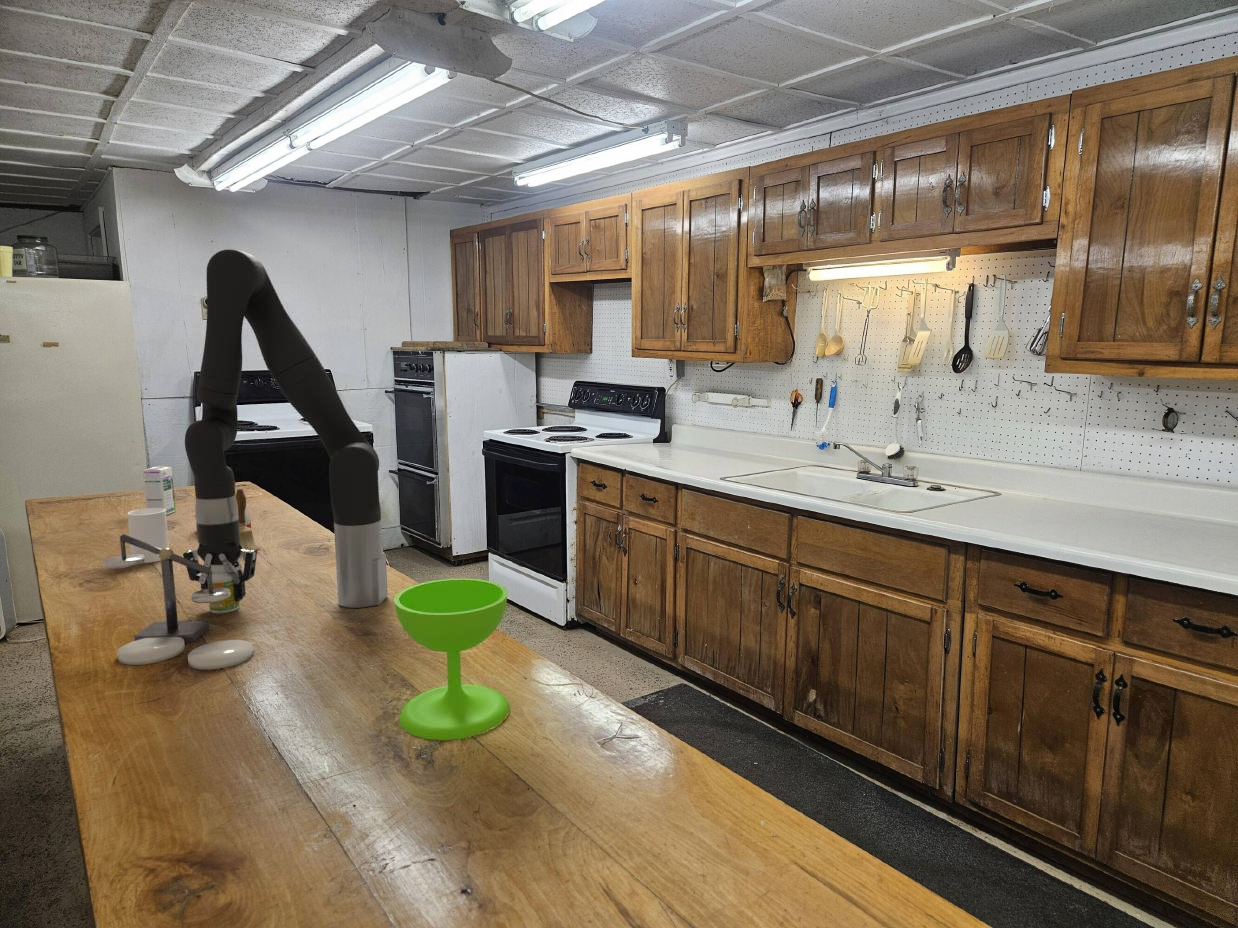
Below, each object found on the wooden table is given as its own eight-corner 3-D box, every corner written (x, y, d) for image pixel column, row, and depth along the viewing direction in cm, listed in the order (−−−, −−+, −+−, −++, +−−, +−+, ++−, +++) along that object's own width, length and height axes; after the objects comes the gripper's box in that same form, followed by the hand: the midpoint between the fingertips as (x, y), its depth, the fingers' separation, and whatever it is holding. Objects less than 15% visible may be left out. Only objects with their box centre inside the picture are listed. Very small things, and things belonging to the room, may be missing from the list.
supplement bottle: (227, 615, 154) (223, 567, 153) (203, 612, 156) (199, 565, 154) (245, 606, 160) (242, 560, 158) (222, 604, 161) (218, 558, 159)
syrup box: (165, 515, 239) (161, 469, 236) (146, 515, 239) (142, 469, 237) (176, 511, 244) (172, 466, 242) (157, 511, 244) (153, 466, 242)
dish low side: (263, 646, 139) (262, 639, 139) (237, 669, 129) (236, 662, 129) (207, 646, 139) (206, 639, 139) (176, 669, 129) (175, 662, 129)
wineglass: (417, 687, 123) (412, 577, 120) (518, 689, 123) (516, 579, 120) (383, 739, 107) (377, 614, 104) (499, 741, 107) (496, 615, 104)
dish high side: (195, 641, 141) (195, 635, 141) (164, 664, 131) (164, 658, 131) (140, 641, 141) (139, 635, 141) (104, 664, 131) (104, 658, 131)
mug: (125, 555, 196) (120, 508, 194) (163, 549, 202) (159, 503, 200) (134, 565, 187) (130, 516, 186) (174, 558, 193) (170, 511, 191)
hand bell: (262, 544, 207) (258, 485, 204) (258, 552, 199) (254, 491, 197) (228, 546, 204) (223, 487, 202) (222, 555, 197) (218, 493, 194)
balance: (239, 627, 148) (232, 527, 145) (224, 641, 141) (216, 537, 138) (123, 630, 146) (113, 529, 143) (103, 644, 139) (91, 539, 136)
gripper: (262, 514, 158) (267, 594, 161) (191, 514, 158) (197, 594, 161) (245, 523, 151) (251, 606, 154) (170, 522, 151) (178, 606, 153)
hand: (224, 599), depth 157 cm, fingers closed on supplement bottle, 5 cm apart
